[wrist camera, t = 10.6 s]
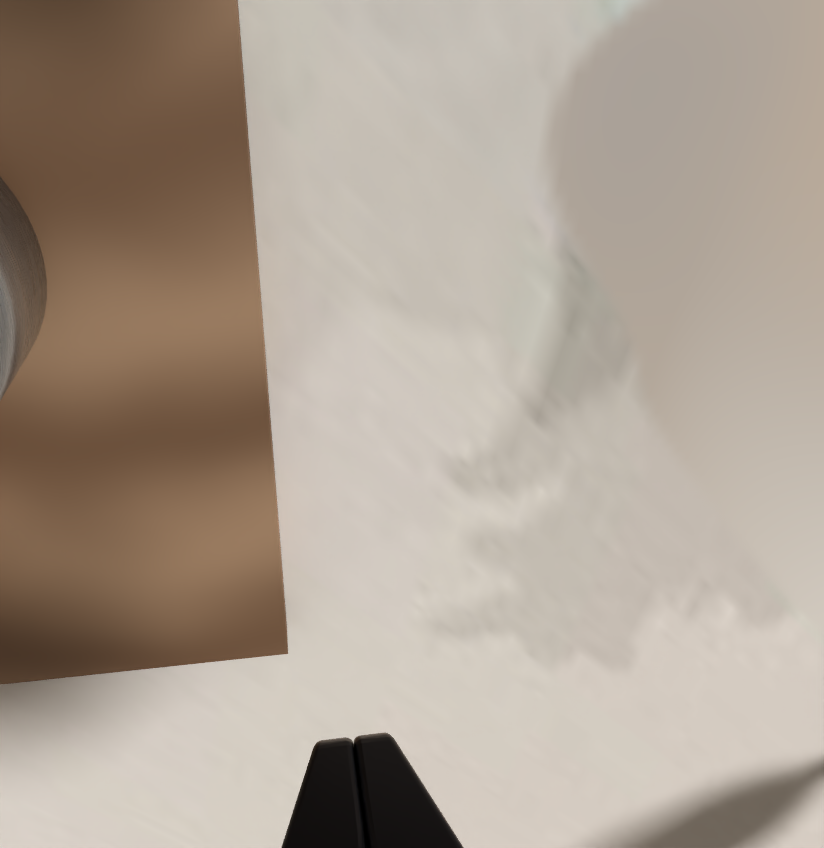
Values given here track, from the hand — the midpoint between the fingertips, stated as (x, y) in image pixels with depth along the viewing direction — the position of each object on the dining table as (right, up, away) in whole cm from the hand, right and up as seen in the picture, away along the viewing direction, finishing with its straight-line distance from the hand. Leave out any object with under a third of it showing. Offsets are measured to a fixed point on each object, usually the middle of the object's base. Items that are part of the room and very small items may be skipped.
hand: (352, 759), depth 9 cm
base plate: (-10, +4, +11) cm, 15 cm away
